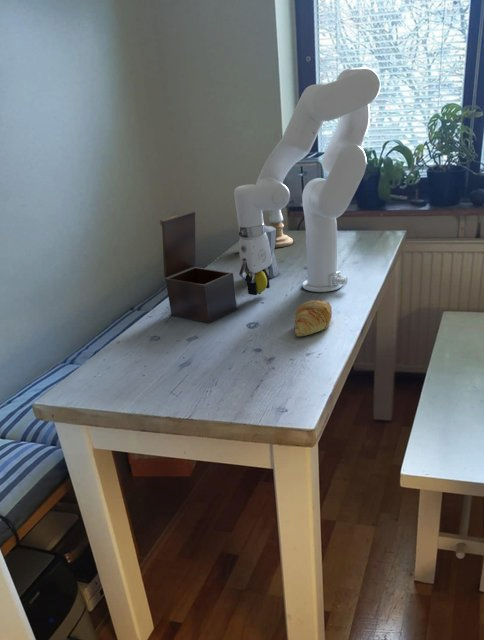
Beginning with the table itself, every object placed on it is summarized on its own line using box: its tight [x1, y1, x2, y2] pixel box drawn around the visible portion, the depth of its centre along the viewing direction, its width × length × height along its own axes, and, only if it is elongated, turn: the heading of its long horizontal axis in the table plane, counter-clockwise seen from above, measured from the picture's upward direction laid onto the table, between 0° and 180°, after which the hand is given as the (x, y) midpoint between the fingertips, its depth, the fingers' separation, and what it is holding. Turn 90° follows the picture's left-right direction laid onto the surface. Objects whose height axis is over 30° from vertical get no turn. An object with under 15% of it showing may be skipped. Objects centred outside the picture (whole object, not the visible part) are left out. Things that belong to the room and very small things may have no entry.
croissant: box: [294, 299, 333, 337], centre depth 163 cm, size 21×10×8 cm, turn 156°
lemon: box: [249, 270, 267, 295], centre depth 185 cm, size 6×6×8 cm
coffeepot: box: [264, 222, 279, 279], centre depth 203 cm, size 15×9×18 cm, turn 176°
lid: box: [159, 211, 197, 278], centre depth 173 cm, size 16×13×5 cm
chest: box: [165, 266, 238, 324], centre depth 177 cm, size 15×13×11 cm
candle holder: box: [268, 209, 294, 248], centre depth 236 cm, size 12×12×20 cm
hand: (259, 290), depth 187 cm, fingers closed on lemon, 5 cm apart
